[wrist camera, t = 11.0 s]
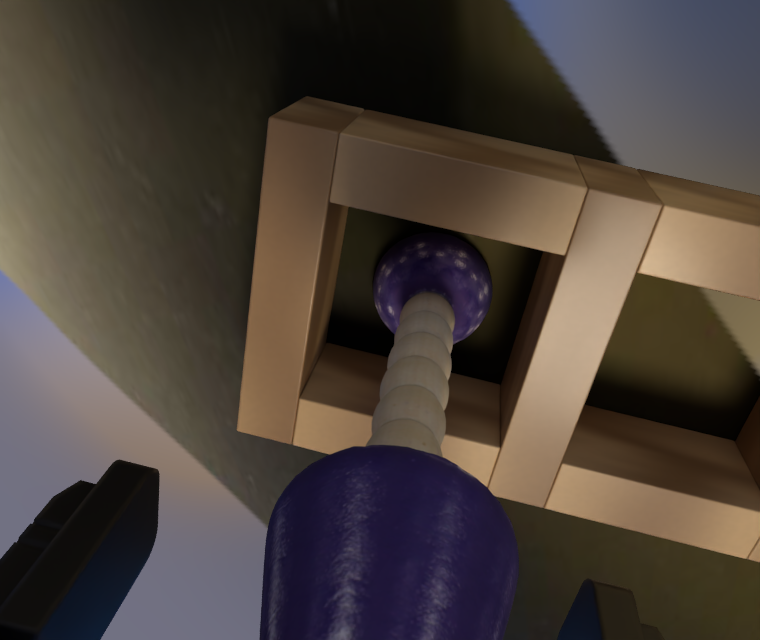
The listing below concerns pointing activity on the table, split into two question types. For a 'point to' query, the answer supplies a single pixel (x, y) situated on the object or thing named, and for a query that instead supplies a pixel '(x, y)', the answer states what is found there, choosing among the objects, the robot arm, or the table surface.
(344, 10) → the table surface
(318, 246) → the socket block
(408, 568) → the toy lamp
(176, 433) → the table surface
